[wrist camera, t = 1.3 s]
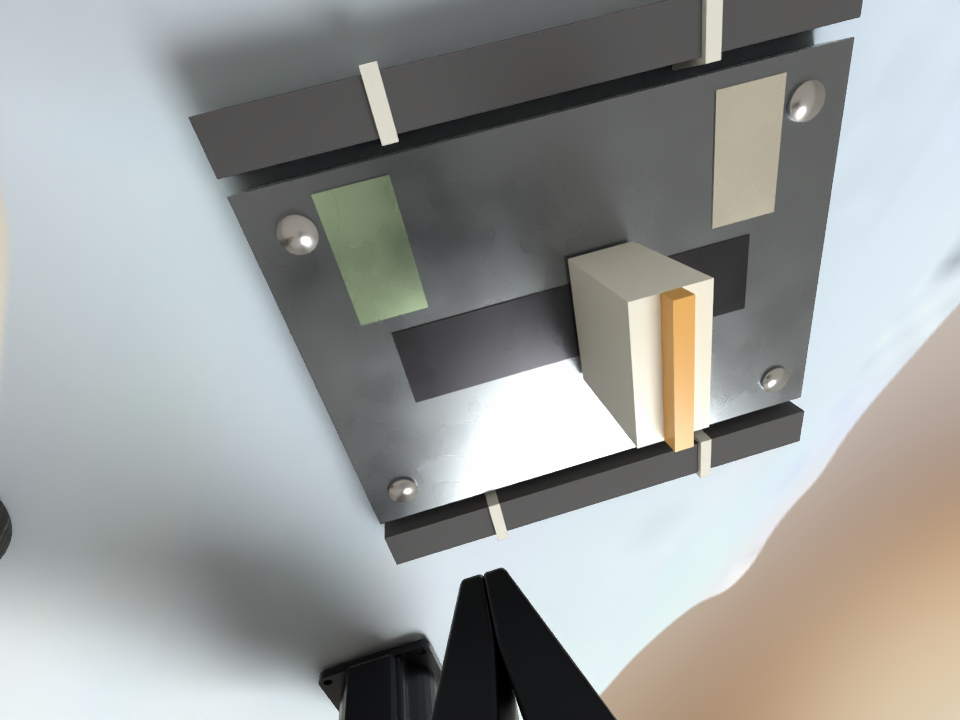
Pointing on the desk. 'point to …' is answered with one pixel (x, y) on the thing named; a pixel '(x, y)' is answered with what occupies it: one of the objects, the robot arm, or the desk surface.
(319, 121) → the cord bundle outer
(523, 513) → the cord bundle inner
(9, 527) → the travel mug
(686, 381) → the lever
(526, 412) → the breaker panel
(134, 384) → the desk surface
